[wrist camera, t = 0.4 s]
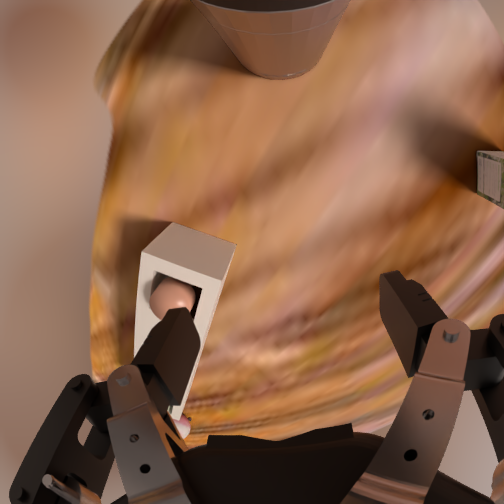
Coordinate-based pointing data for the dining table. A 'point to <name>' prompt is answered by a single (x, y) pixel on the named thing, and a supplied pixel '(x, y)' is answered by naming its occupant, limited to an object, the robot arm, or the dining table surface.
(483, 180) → the syrup box
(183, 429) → the onion
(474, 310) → the dining table surface
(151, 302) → the terracotta button
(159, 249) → the block
